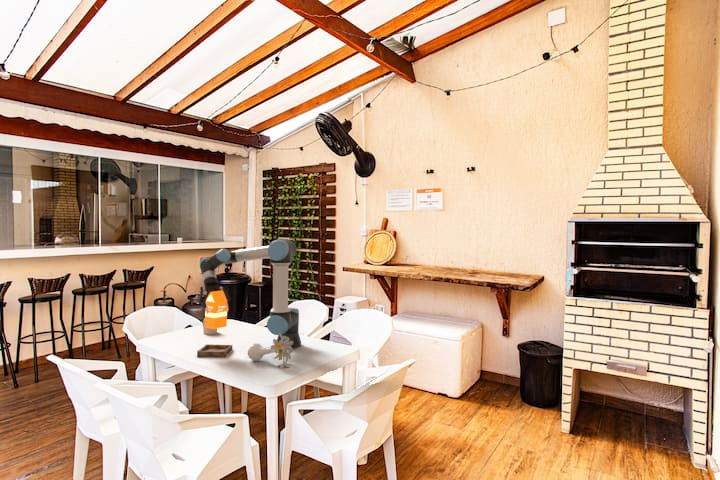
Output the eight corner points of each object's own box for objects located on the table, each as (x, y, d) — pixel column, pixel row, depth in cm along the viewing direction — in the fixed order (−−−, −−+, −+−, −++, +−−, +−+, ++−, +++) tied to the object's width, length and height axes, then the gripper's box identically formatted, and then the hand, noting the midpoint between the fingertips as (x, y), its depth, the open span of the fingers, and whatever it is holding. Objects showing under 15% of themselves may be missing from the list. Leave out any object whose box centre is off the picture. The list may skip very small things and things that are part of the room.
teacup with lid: (220, 332, 280) (220, 315, 280) (209, 335, 273) (209, 317, 273) (208, 330, 287) (208, 313, 287) (197, 332, 279) (197, 315, 279)
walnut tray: (232, 350, 240) (232, 345, 240) (224, 357, 226) (224, 351, 226) (206, 349, 240) (206, 344, 240) (197, 356, 226) (197, 351, 226)
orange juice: (204, 327, 231) (205, 291, 231) (217, 324, 239) (218, 289, 238) (214, 329, 227) (214, 292, 227) (226, 326, 235) (227, 291, 234)
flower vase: (249, 375, 218) (288, 371, 208) (239, 342, 216) (277, 336, 206) (264, 364, 230) (301, 359, 220) (254, 333, 228) (291, 326, 218)
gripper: (227, 283, 252) (236, 313, 239) (188, 285, 238) (195, 317, 226) (231, 275, 247) (239, 306, 235) (191, 276, 234) (198, 309, 221)
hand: (217, 311), depth 230 cm, fingers closed on orange juice, 10 cm apart
